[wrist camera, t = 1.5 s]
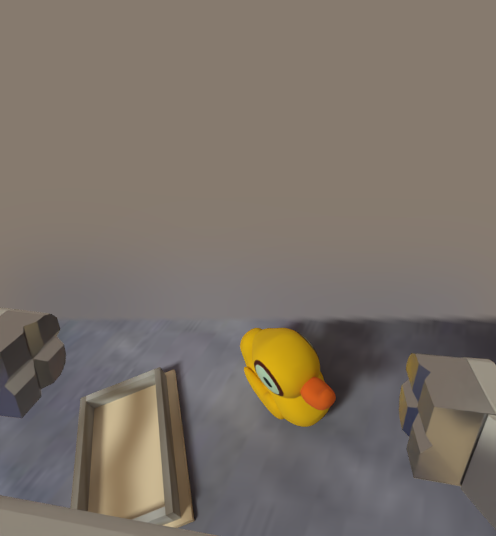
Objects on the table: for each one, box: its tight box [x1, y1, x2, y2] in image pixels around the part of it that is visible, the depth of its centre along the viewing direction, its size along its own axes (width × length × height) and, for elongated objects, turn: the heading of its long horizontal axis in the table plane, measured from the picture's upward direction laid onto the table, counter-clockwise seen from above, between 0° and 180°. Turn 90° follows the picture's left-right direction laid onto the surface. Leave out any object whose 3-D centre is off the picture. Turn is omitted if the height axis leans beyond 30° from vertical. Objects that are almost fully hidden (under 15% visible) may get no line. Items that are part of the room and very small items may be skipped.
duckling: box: [240, 328, 336, 427], centre depth 32 cm, size 11×5×10 cm, turn 36°
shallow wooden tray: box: [71, 367, 194, 528], centre depth 35 cm, size 10×14×2 cm
